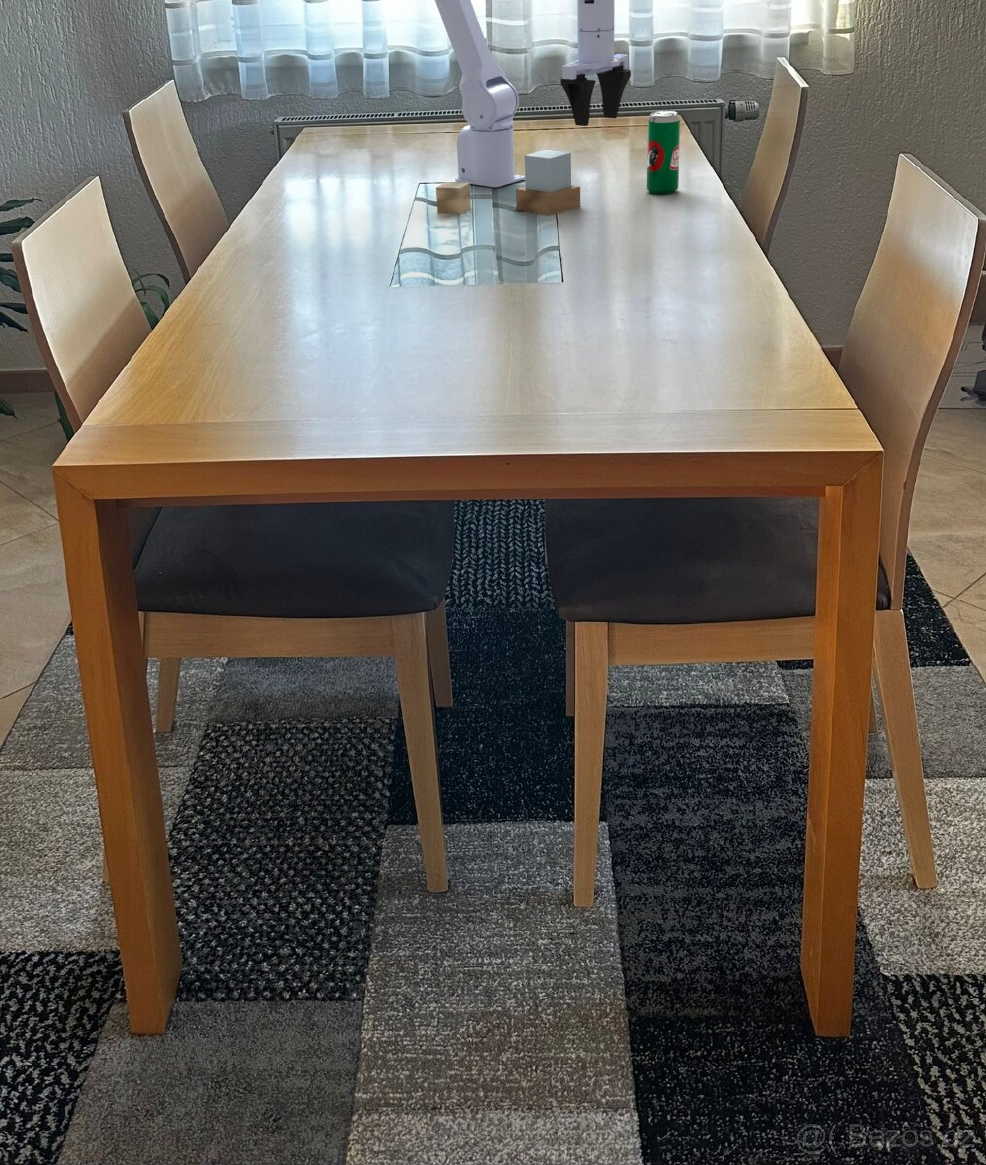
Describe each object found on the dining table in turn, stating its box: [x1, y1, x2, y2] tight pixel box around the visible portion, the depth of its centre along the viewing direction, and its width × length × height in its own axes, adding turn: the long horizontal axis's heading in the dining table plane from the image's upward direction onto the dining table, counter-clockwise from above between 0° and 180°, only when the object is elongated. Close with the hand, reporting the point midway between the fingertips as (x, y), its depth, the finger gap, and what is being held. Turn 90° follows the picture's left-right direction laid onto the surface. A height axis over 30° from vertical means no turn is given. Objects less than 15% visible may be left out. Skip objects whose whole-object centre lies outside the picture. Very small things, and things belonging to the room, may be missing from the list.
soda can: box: [646, 110, 681, 196], centre depth 204 cm, size 5×5×12 cm
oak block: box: [435, 181, 472, 215], centre depth 201 cm, size 4×4×4 cm
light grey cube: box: [524, 149, 572, 192], centre depth 198 cm, size 5×5×5 cm
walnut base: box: [515, 184, 581, 217], centre depth 200 cm, size 7×7×4 cm
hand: (596, 121), depth 206 cm, fingers open, 7 cm apart
